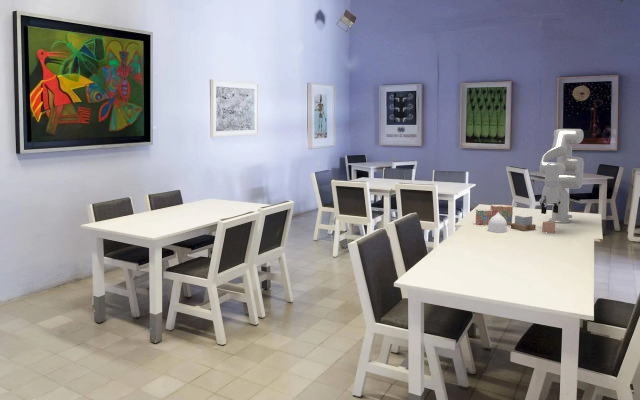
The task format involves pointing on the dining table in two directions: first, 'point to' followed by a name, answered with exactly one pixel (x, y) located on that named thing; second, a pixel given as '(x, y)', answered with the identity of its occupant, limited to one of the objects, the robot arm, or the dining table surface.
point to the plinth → (523, 227)
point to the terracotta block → (548, 227)
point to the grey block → (523, 220)
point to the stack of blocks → (487, 214)
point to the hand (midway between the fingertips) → (549, 213)
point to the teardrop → (497, 224)
